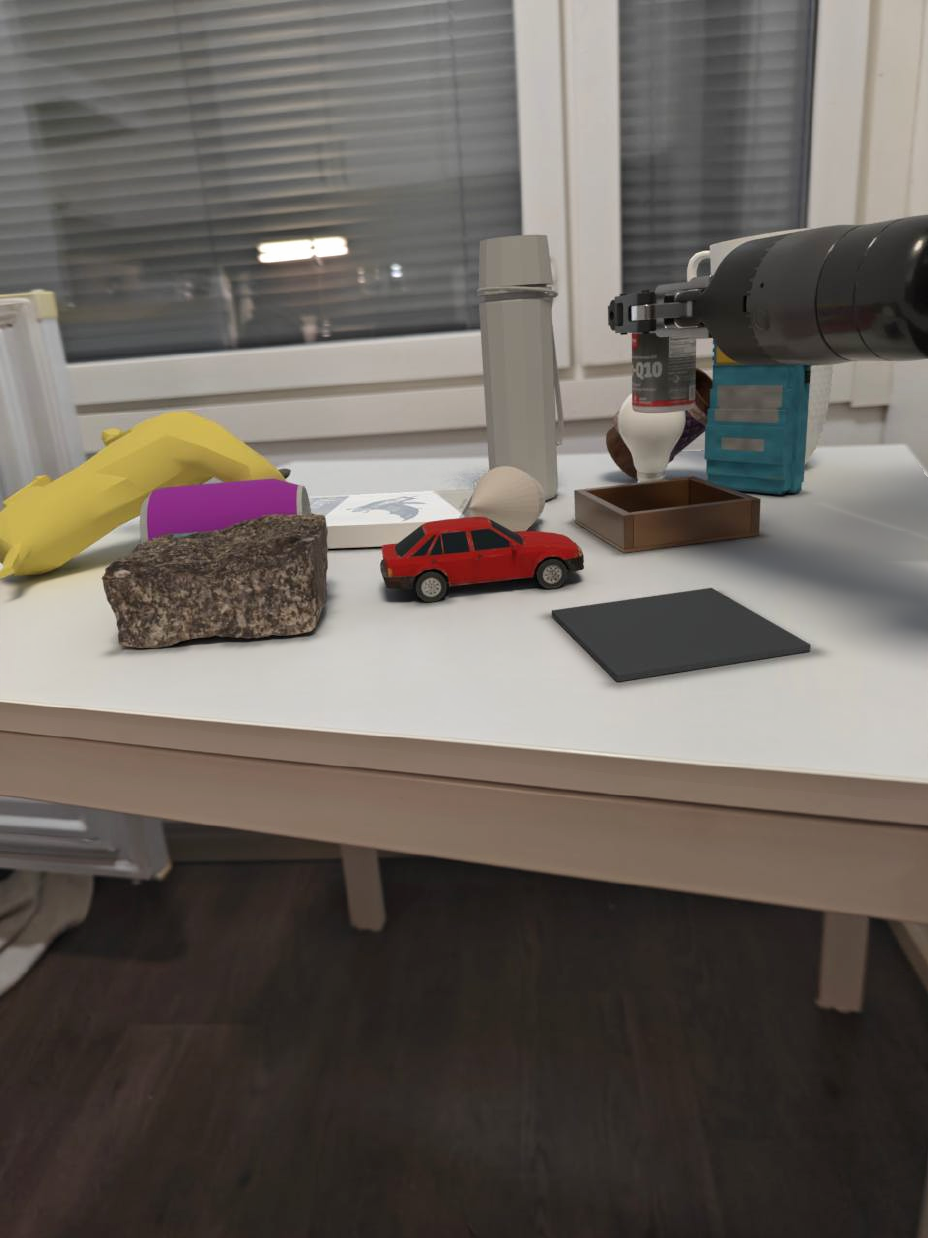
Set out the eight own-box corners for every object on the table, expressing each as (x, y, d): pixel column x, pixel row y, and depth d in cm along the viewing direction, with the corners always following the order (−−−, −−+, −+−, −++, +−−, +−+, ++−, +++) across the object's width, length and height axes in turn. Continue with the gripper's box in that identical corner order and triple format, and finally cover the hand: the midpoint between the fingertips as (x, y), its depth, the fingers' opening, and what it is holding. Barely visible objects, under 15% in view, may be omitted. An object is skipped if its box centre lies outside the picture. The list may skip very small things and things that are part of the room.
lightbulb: (613, 507, 81) (611, 390, 78) (623, 494, 87) (622, 384, 83) (681, 507, 79) (682, 387, 75) (687, 494, 85) (689, 380, 81)
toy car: (591, 586, 59) (589, 515, 57) (385, 608, 57) (377, 537, 55) (568, 562, 65) (566, 498, 63) (381, 582, 63) (374, 517, 61)
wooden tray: (692, 508, 79) (693, 476, 78) (759, 535, 68) (760, 498, 67) (574, 522, 77) (573, 489, 76) (624, 553, 66) (623, 515, 65)
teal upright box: (808, 489, 82) (819, 326, 77) (788, 497, 79) (797, 329, 74) (718, 481, 89) (723, 330, 84) (697, 488, 86) (700, 333, 81)
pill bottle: (619, 412, 66) (618, 298, 63) (667, 405, 68) (667, 294, 65) (659, 415, 62) (659, 293, 59) (708, 408, 64) (710, 290, 61)
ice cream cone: (463, 450, 64) (523, 451, 78) (418, 512, 67) (484, 503, 80) (522, 502, 63) (572, 494, 77) (475, 563, 66) (532, 544, 79)
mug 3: (706, 456, 103) (709, 344, 99) (799, 451, 102) (806, 337, 98) (732, 478, 89) (736, 349, 85) (840, 472, 88) (850, 341, 84)
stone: (321, 636, 53) (306, 545, 51) (110, 656, 53) (87, 565, 51) (339, 583, 63) (328, 505, 61) (163, 599, 63) (146, 522, 61)
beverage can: (165, 605, 67) (316, 592, 67) (131, 550, 60) (299, 535, 61) (172, 528, 71) (315, 515, 71) (141, 467, 64) (299, 455, 65)
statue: (20, 660, 76) (120, 673, 62) (-81, 542, 70) (4, 527, 57) (228, 502, 91) (346, 484, 78) (160, 394, 86) (273, 353, 72)
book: (208, 553, 75) (204, 531, 74) (261, 517, 88) (258, 499, 87) (463, 543, 72) (461, 520, 71) (480, 507, 85) (479, 488, 84)
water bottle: (522, 509, 83) (508, 233, 75) (474, 500, 89) (457, 244, 81) (589, 493, 88) (583, 233, 80) (539, 485, 94) (529, 243, 86)
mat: (711, 593, 55) (711, 587, 55) (810, 651, 45) (811, 644, 45) (551, 616, 53) (551, 610, 53) (617, 682, 43) (617, 675, 43)
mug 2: (818, 333, 91) (818, 230, 88) (808, 339, 83) (807, 225, 80) (700, 347, 97) (696, 251, 94) (680, 354, 89) (674, 249, 85)
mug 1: (638, 439, 98) (720, 372, 90) (655, 489, 95) (742, 424, 87) (576, 414, 91) (659, 340, 83) (593, 467, 88) (680, 395, 80)
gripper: (900, 225, 51) (720, 255, 66) (705, 234, 46) (558, 265, 61) (890, 354, 53) (718, 355, 69) (703, 376, 49) (562, 371, 64)
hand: (643, 312), depth 65 cm, fingers closed on pill bottle, 4 cm apart
